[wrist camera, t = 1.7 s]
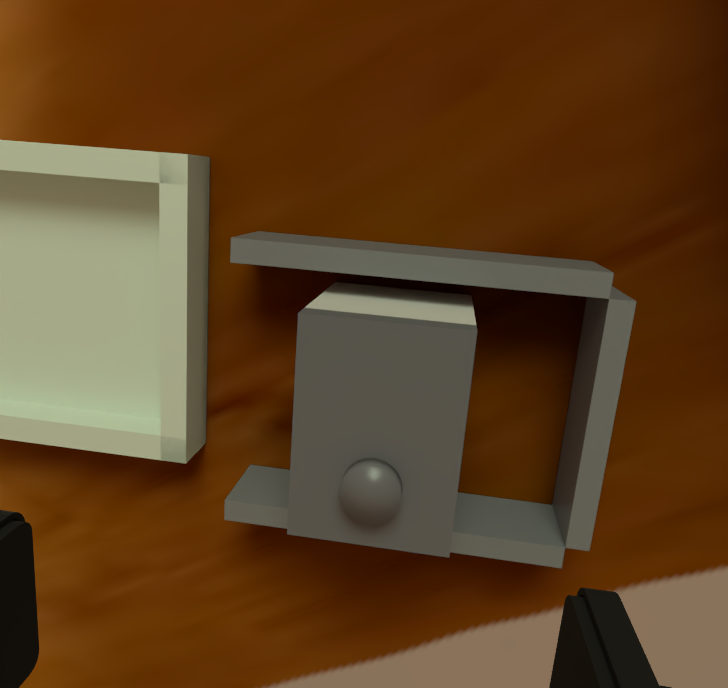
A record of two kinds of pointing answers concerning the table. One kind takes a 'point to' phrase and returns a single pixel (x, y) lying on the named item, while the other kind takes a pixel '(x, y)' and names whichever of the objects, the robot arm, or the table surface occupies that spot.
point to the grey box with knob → (380, 416)
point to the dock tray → (104, 299)
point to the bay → (586, 406)
